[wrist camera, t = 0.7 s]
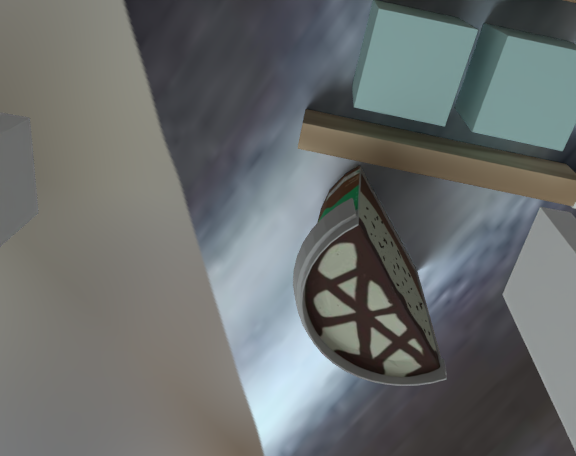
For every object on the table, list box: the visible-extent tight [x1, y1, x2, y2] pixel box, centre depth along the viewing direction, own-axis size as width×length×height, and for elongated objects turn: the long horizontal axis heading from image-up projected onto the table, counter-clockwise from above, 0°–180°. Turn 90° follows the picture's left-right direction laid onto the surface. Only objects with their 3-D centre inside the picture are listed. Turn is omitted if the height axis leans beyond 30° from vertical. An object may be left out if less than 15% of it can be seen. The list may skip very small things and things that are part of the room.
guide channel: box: [298, 0, 576, 206], centre depth 30 cm, size 12×17×3 cm
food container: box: [293, 165, 447, 386], centre depth 33 cm, size 12×6×10 cm, turn 30°
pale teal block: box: [352, 0, 478, 127], centre depth 29 cm, size 5×5×5 cm
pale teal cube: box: [454, 23, 576, 151], centre depth 29 cm, size 5×5×5 cm
